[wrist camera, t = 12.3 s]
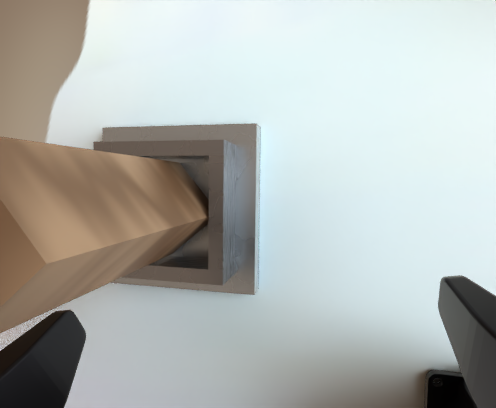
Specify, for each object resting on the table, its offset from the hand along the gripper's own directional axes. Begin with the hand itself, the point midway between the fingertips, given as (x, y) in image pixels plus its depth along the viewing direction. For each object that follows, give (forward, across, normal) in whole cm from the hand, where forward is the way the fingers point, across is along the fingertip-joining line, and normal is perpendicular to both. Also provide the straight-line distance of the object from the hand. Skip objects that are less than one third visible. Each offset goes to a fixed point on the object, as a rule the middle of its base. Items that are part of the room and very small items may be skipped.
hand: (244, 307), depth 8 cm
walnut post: (+12, +6, +3) cm, 14 cm away
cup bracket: (+13, +6, +4) cm, 15 cm away
